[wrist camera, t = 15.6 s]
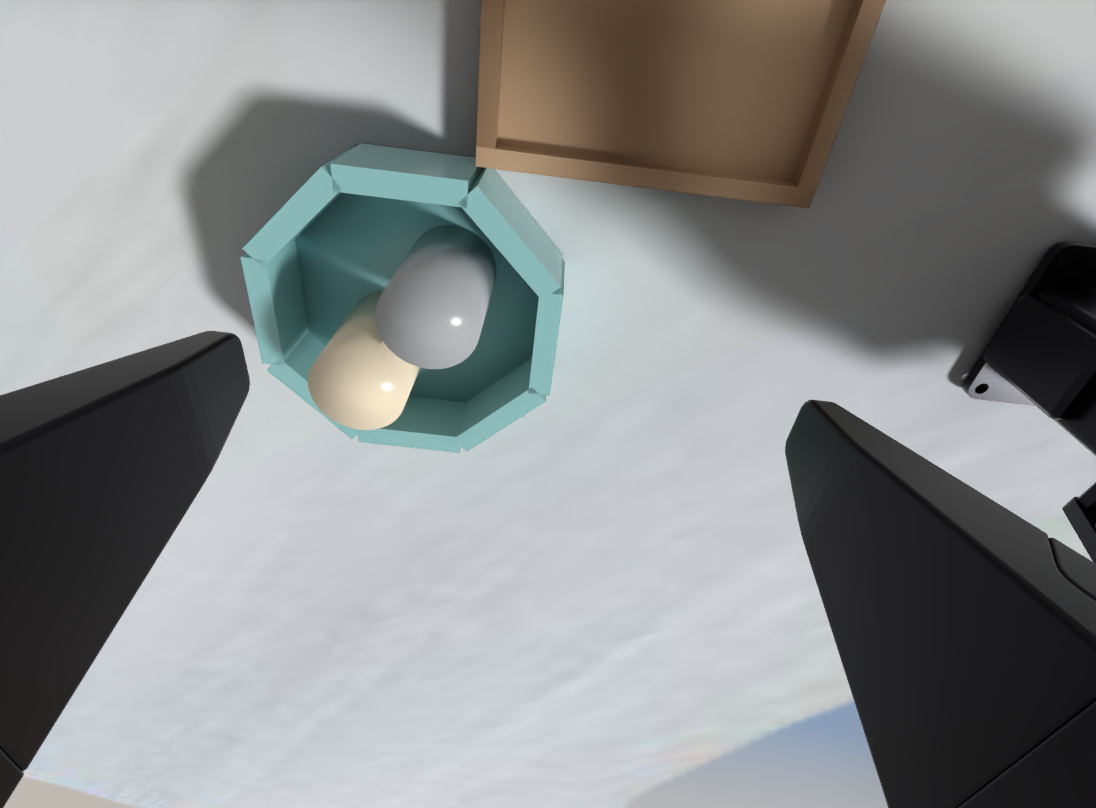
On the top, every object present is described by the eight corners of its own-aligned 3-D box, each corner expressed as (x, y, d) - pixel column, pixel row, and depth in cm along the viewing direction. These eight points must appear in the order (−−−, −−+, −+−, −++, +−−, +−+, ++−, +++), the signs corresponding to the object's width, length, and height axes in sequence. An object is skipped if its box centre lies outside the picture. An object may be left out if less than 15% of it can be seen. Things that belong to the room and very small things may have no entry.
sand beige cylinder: (432, 297, 22) (405, 356, 18) (430, 368, 24) (405, 435, 20) (348, 285, 22) (302, 342, 18) (352, 358, 23) (312, 423, 20)
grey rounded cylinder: (499, 231, 20) (483, 282, 17) (493, 313, 22) (477, 375, 18) (409, 219, 20) (372, 267, 16) (410, 302, 22) (377, 362, 18)
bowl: (576, 170, 20) (577, 194, 17) (543, 417, 26) (540, 461, 23) (263, 130, 19) (217, 149, 17) (305, 391, 25) (276, 433, 23)
